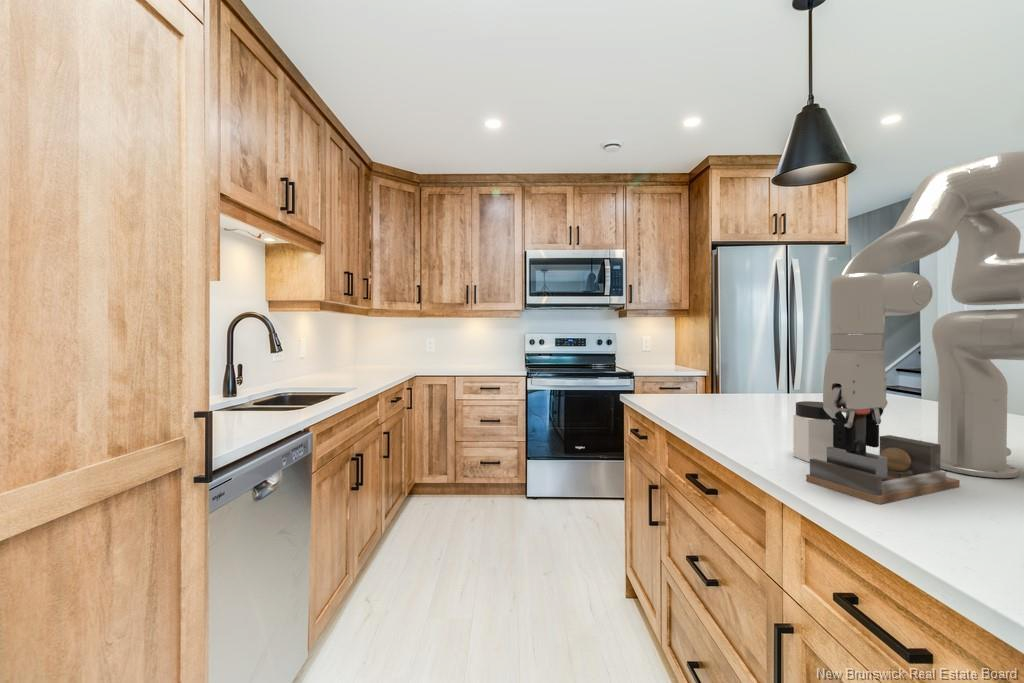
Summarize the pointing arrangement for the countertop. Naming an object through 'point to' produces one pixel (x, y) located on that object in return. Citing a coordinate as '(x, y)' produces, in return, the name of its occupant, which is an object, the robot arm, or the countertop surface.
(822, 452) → the jar
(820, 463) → the press base
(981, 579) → the countertop surface
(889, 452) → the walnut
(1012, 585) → the countertop surface
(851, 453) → the handle
